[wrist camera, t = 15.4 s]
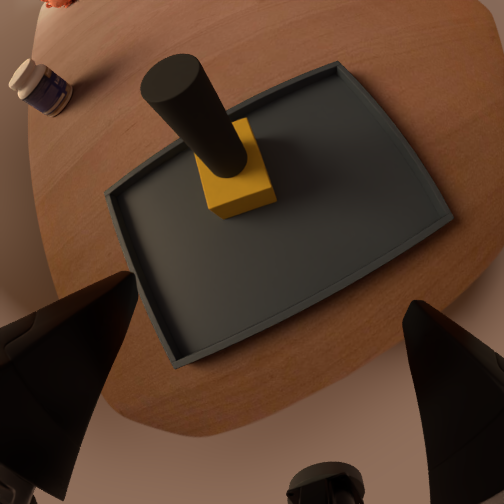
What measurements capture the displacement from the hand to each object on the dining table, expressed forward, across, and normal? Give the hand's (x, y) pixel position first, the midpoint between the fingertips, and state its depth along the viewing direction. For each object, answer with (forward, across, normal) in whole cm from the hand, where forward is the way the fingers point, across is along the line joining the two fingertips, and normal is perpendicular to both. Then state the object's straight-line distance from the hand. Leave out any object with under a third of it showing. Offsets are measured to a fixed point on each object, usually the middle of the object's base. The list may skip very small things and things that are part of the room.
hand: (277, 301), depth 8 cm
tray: (+15, 0, +2) cm, 15 cm away
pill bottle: (+28, +32, -9) cm, 44 cm away
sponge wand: (+16, +3, 0) cm, 16 cm away
